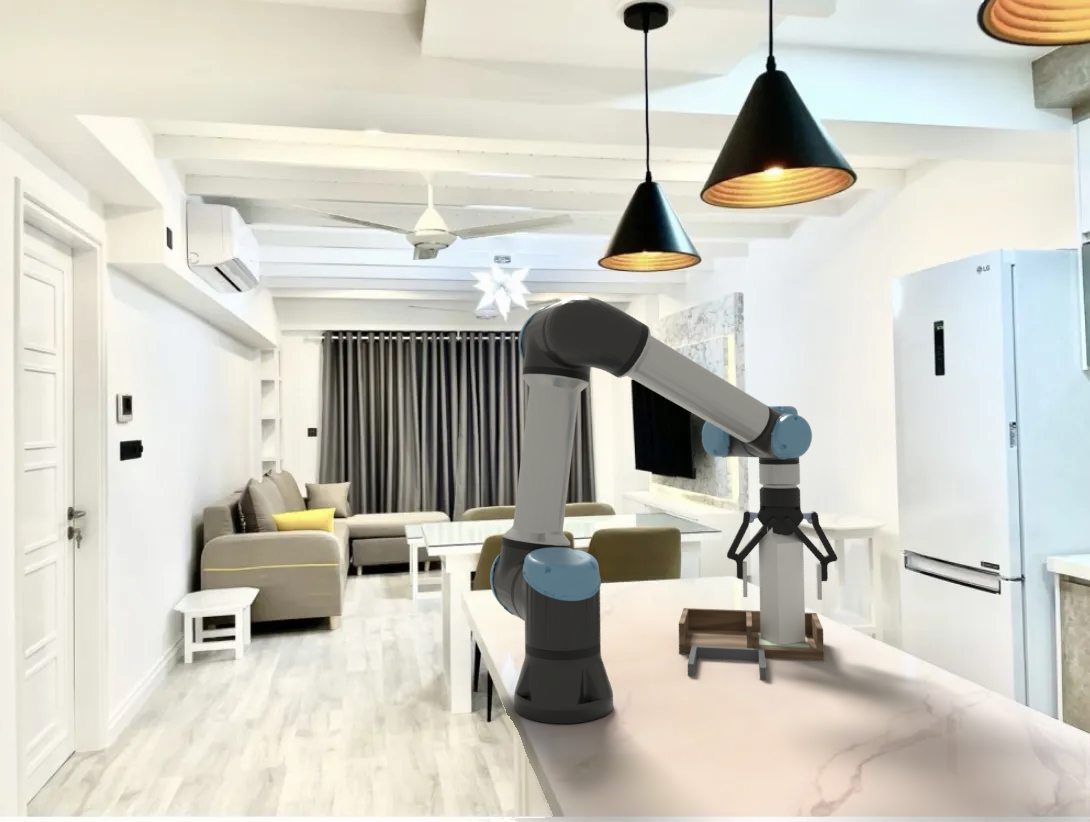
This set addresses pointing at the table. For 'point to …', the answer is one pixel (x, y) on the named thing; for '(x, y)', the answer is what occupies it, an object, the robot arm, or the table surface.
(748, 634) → the box
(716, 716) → the table surface
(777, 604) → the milk
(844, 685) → the table surface
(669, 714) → the table surface
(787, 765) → the table surface
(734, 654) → the bracket
